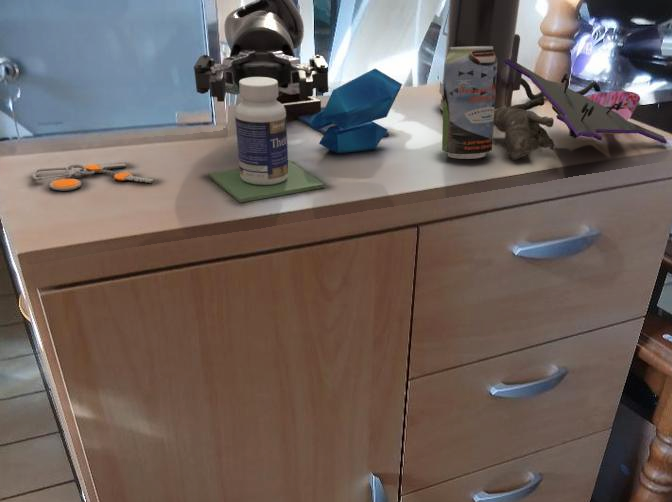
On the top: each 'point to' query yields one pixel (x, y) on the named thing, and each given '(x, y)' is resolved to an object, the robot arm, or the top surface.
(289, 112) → the holder
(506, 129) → the dog figurine
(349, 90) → the blue faceted sculpture
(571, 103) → the toy airplane
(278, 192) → the mat
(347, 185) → the top surface
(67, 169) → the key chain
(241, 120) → the pill bottle
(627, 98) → the headband
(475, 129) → the beverage can
